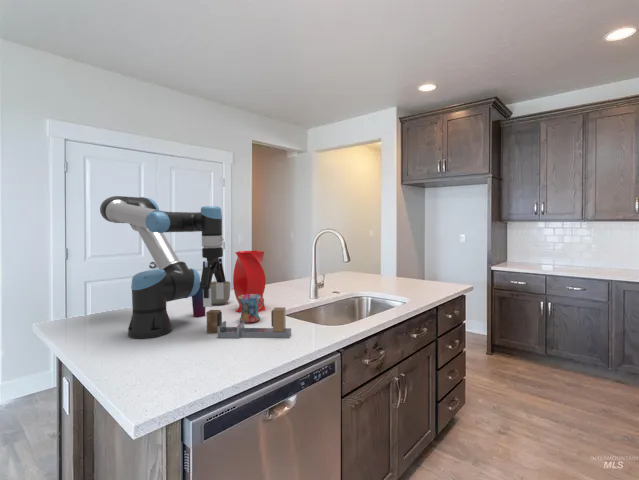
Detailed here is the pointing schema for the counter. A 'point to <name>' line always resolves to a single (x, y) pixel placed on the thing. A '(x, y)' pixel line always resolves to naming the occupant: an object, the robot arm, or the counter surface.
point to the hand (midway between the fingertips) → (214, 302)
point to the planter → (225, 290)
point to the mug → (250, 307)
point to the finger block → (213, 320)
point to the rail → (240, 331)
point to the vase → (249, 276)
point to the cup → (198, 304)
